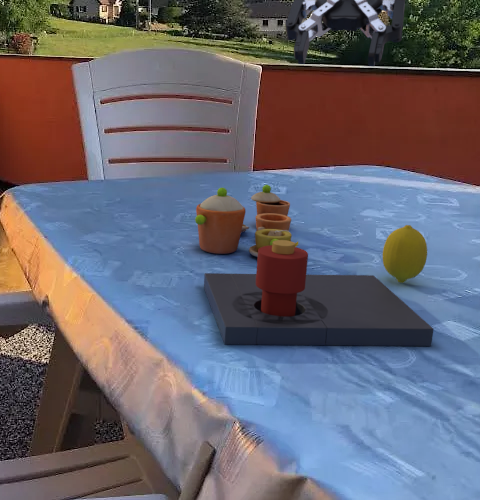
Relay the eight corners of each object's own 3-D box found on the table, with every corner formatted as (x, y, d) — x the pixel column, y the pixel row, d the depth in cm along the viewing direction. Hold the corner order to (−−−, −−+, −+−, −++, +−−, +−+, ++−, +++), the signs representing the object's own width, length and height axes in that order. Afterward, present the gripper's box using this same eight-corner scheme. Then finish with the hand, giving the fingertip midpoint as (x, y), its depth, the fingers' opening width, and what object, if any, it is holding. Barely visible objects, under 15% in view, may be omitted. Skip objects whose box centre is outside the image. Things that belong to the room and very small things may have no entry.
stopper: (294, 315, 83) (301, 236, 80) (306, 333, 78) (314, 250, 75) (248, 314, 83) (254, 236, 80) (257, 332, 77) (264, 249, 75)
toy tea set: (297, 267, 101) (303, 200, 98) (189, 258, 104) (192, 193, 101) (295, 224, 126) (300, 170, 123) (208, 218, 128) (210, 165, 126)
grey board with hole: (371, 289, 92) (373, 275, 92) (431, 346, 75) (434, 328, 74) (203, 287, 91) (204, 273, 91) (224, 344, 74) (225, 326, 74)
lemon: (400, 291, 92) (408, 231, 89) (370, 278, 97) (377, 221, 94) (432, 286, 94) (440, 228, 92) (401, 274, 99) (408, 218, 97)
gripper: (301, -52, 94) (275, 36, 87) (415, -56, 89) (397, 38, 82) (304, -7, 100) (281, 79, 93) (411, -8, 95) (395, 84, 88)
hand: (335, 60), depth 88 cm, fingers open, 8 cm apart
